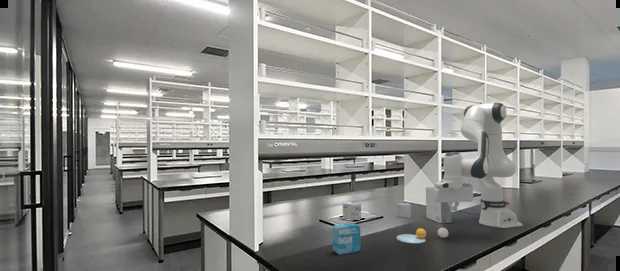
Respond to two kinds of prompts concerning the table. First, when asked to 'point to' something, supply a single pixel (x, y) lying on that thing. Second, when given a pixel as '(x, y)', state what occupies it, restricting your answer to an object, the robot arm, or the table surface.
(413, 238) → the blue mark
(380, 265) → the table surface
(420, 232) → the orange ball
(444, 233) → the white ball
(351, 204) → the light bulb box
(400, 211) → the medicine box
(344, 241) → the data package
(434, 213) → the hard drive box
